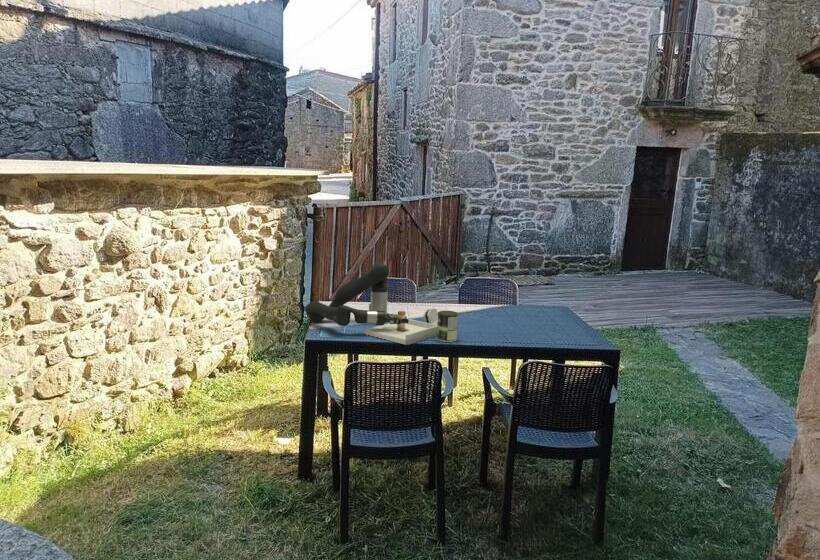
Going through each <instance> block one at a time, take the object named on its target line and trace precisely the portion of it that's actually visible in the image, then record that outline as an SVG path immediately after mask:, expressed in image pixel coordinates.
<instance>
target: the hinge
mask: <svg viewBox="0 0 820 560" xmlns="http://www.w3.org/2000/svg"><path fill="white" fill-rule="evenodd" d="M438 312H439V311H438V309H437V308H429V309H427V310H425V311H424V313H423V315H422V316H423V322H425V323H430V324H435V325H438Z"/></svg>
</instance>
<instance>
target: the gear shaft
mask: <svg viewBox="0 0 820 560" xmlns="http://www.w3.org/2000/svg"><path fill="white" fill-rule="evenodd" d="M397 315H398V318H401V319H405V316H406V311H403V310H398V311H397ZM397 331H401V332H405V323H401V324H397Z"/></svg>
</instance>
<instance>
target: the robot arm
mask: <svg viewBox="0 0 820 560" xmlns="http://www.w3.org/2000/svg"><path fill="white" fill-rule="evenodd" d="M389 275H390V269H389V267H388V266H387V265H386V264H385V263H383V262H382V261H381V262H380V261H379V262H378V261H377V262H375V263H373V265H372V266H371V269H370V271H368V272H367V273H365V274H364V275H363V276H360V277H358V278H355V279H353V280H351V281H350V280H349V282H347V283H345V284H344V285H342V286H341V287H339V288H338V289H337V291H336V292H335V295H334V296H333V299H332V300H331V302H330V304H328V305H327V304H324V303H322V302H320V301H317V300H312V301H310V302H309V303H308V304H306V306H305V307H304V312H305V314H306V315H307V316H308V317H309V320H310V321H311V322H312V323H315V324H317V323H319V322H321V321H323V320H324V319H325V320H329V321H332V322H334V323H335V324H337V325H338V326H340V327H346V326H348V325H349V324H350V323H351V314H353V316H354V322H355V323H356V324H363V325H364V324H365V325H370V326H381V325H385V324H386V323H387V324H389V323H390V324H401V323H408V322H409V320H408V319H409V318H408V317H407V316H406V315H405V319H401V318H398V313H397V314H393V313H389V312H388V289H389V288H388V276H389ZM369 288H370V303H369V304H368V307H369V308H368V310H367V309H358V308H354V307H351V306H348V305H345V304H347V303H350V302H351V301H352V300H354V299H355V298H357V297H358V296H359V295H361V294H362V293H364V292H365V291H367V290H368V289H369ZM397 320H398V322H397Z"/></svg>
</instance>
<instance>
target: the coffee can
mask: <svg viewBox="0 0 820 560" xmlns="http://www.w3.org/2000/svg"><path fill="white" fill-rule="evenodd" d="M437 312H438V327H437V336H436V340H437V341H440V342H442V341H443V343H454V342H456V341H457V335H458V334H457V333H458V332H457V330H458V317H459V313H458V312H457V311H454V310H453V311H452V310H440V311H437Z"/></svg>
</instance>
